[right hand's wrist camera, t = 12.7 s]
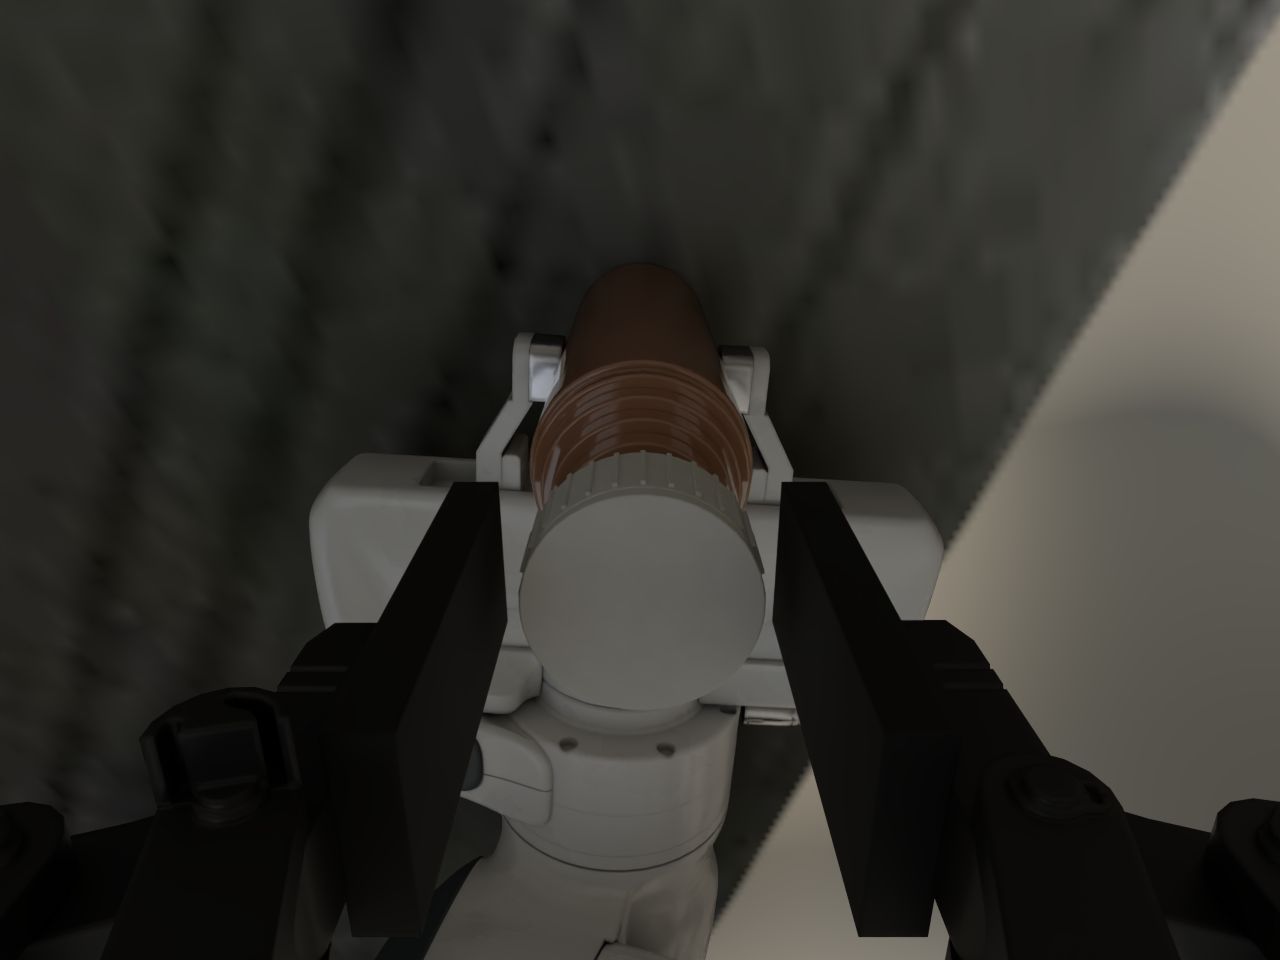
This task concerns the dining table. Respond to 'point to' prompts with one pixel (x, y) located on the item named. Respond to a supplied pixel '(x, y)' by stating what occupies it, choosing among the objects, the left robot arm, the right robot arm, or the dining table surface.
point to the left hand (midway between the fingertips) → (641, 342)
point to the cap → (642, 582)
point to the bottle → (640, 385)
